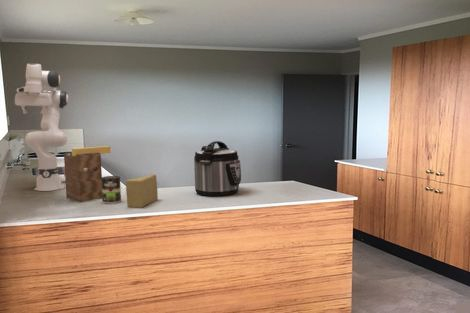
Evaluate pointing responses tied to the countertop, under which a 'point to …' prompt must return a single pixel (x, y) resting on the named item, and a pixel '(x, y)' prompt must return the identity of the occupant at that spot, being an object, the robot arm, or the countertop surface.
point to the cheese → (141, 191)
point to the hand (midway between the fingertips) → (33, 113)
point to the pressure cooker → (216, 170)
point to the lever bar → (91, 150)
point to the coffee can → (111, 189)
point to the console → (83, 176)
